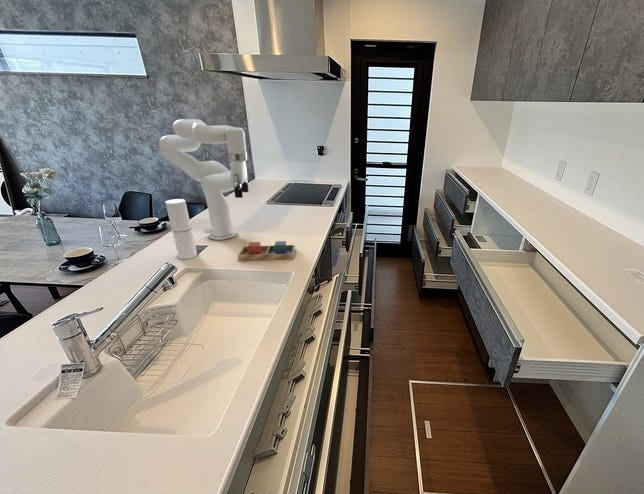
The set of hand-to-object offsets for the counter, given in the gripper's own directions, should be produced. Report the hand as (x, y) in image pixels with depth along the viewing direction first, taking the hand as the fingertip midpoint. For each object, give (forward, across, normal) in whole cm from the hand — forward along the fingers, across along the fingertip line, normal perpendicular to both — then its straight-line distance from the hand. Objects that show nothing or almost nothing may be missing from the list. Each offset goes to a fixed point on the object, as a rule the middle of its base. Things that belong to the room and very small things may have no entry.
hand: (242, 194), depth 141 cm
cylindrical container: (+25, +15, -22) cm, 36 cm away
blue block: (+22, +16, +19) cm, 34 cm away
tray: (+23, +16, +13) cm, 31 cm away
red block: (+23, +16, +8) cm, 29 cm away
